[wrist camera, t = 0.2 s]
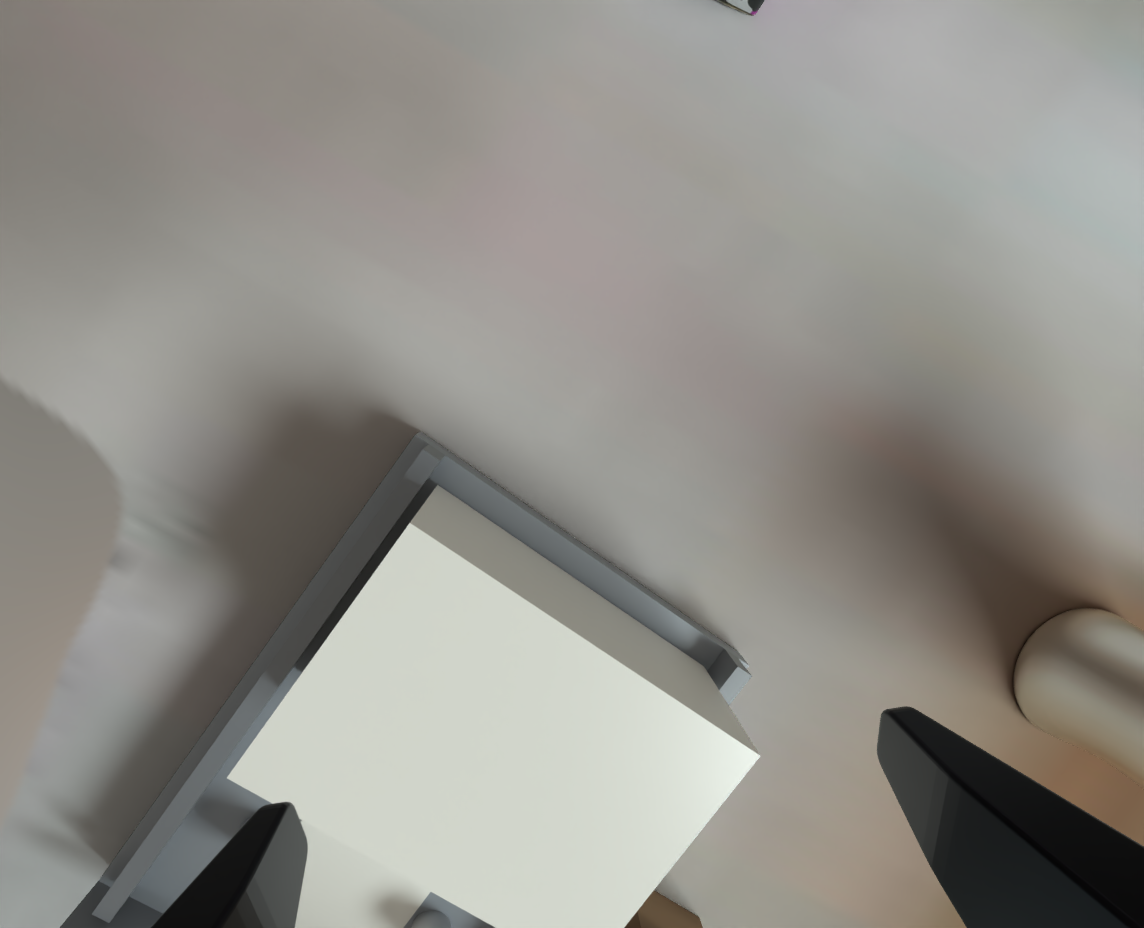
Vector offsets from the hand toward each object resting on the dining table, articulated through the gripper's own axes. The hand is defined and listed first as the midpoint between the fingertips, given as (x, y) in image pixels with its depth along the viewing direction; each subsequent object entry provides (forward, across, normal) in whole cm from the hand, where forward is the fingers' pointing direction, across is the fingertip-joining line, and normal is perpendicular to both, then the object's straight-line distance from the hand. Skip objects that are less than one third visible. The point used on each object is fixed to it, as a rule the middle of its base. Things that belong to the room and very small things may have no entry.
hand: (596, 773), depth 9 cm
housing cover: (+12, +3, +8) cm, 15 cm away
